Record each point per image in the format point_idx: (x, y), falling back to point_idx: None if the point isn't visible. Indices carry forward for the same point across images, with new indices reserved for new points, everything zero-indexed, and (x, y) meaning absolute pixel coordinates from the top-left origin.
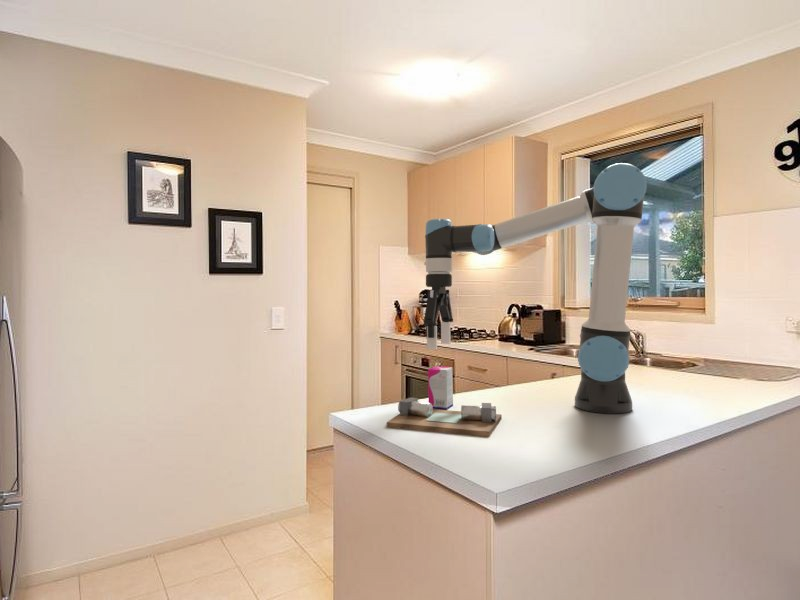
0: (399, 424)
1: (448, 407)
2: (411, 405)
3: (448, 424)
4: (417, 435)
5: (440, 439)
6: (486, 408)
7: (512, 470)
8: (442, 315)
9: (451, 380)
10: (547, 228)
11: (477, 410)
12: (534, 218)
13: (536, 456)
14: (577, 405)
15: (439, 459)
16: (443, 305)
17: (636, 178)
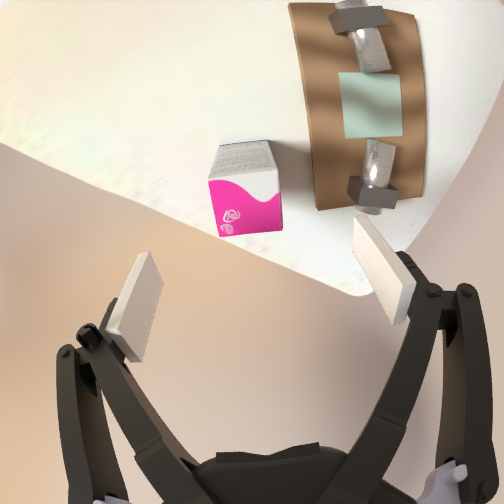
0: (422, 173)
1: (256, 141)
2: (388, 182)
3: (407, 88)
4: (441, 129)
5: (446, 90)
6: (385, 15)
7: (486, 4)
8: (140, 390)
9: (225, 161)
10: None
11: (380, 35)
12: None
13: None
14: None
15: (495, 80)
16: (177, 450)
17: None
